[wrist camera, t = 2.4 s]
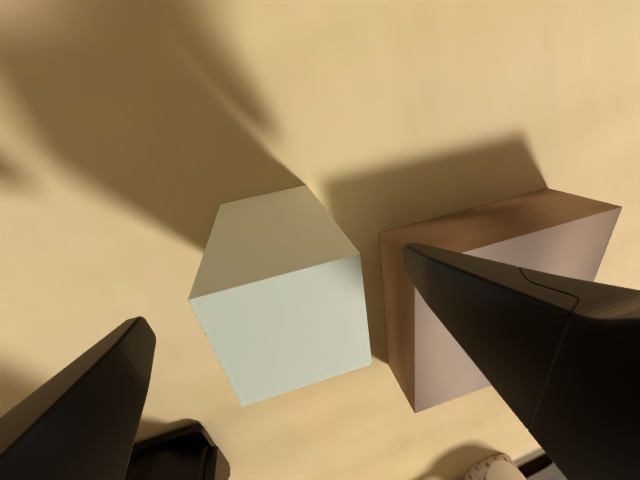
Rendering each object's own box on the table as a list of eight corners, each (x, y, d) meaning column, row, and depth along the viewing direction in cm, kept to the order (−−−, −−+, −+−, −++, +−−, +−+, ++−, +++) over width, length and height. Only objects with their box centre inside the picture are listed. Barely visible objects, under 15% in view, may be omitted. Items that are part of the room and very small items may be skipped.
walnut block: (386, 360, 20) (414, 413, 16) (376, 230, 15) (414, 266, 11) (512, 318, 21) (563, 358, 18) (542, 186, 16) (622, 206, 13)
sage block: (245, 276, 14) (242, 406, 8) (220, 204, 12) (188, 299, 6) (319, 256, 14) (371, 364, 8) (306, 184, 12) (360, 253, 6)
